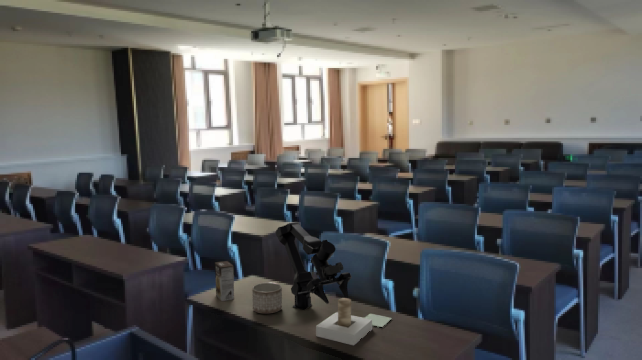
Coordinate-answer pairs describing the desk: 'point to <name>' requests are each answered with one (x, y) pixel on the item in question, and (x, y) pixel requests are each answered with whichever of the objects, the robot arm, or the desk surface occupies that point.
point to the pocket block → (344, 329)
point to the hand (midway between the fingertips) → (337, 300)
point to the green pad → (378, 320)
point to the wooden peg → (344, 312)
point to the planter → (267, 297)
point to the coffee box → (224, 280)
